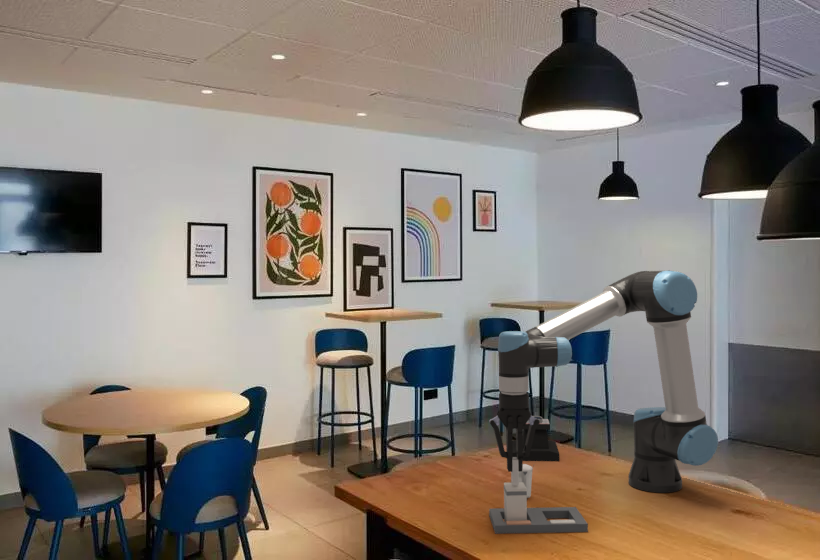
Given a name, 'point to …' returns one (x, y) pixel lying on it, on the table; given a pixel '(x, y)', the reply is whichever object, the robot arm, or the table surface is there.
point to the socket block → (540, 521)
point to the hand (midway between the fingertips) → (514, 483)
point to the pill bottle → (526, 478)
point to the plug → (515, 502)
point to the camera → (539, 443)
